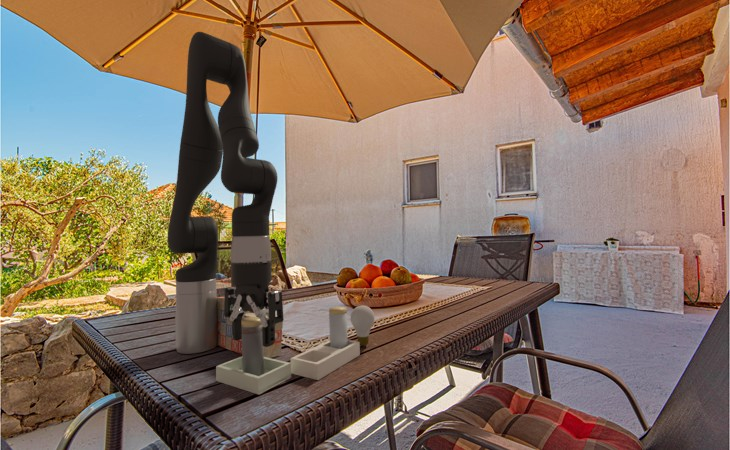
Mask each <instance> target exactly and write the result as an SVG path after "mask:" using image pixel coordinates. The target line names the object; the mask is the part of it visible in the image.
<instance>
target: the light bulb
mask: <svg viewBox="0 0 730 450" xmlns="http://www.w3.org/2000/svg"><path fill="white" fill-rule="evenodd" d="M350 322H351V325H352V326H353V328H354V330H355V333H356V336H357V342H360V347H362V348H365V347H366V346H367V345H368V344H369V340H370V338H369V335H370V333H371V329H372V327H373V324H374V322H375V312H374V311H373V310H372V308H370V307H369V306H367V305H358V306H356V307H355V308H354V309H353V310H352V311H351V314H350Z"/></svg>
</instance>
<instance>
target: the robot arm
mask: <svg viewBox="0 0 730 450" xmlns="http://www.w3.org/2000/svg"><path fill="white" fill-rule="evenodd" d="M186 66H187V67H186V68H187V70H186V92H185V93H186V95H185V108H184V115H183V117H184V118H183V122H182V123H183V125H182V130H181V137H180V143H179V145H180V146H179V153H178V162H177V163H178V165H177V173H176V174H177V175H176V176H177V177H176V184H175V185H176V186H175V190H174V191H175V192H174V198H173V201H172V203H173V204H172V207H171V214H170V218H169V221H168V222H169V223H168V228H167V229H168V230H167V245H168V249H169V250H170V252H171V253H174V254H179V255H181V254H182V255H183V254H198V255H197V258H196V259H194V260H193V261H192V262H191V263H188V264H187V265H185V266H182V267H180V268H178V269H177V270H176V271H175V309H176V310H175V311H174V320H175V321H174V326H175V327H174V328H175V329H174V330H175V331H174V333H175V334H174V335H175V344H174V345H175V349H176V352H177V353H178V354H184V355H185V354H186V355H187V354H188V355H189V354H199V353H203V352H206V351H210V350H213V349H215V348H216V347H218V345H217V297H218V296H217V293H218V292H217V270H218V253H219V252H218V251H219V250H218V249H219V228H218V224H217V222H216V220H215V219H214V218H213V217H210V216H191V214H192V211H193V207H194V206H195V203H196V201H197V200H198V198H199V197H200V195H201V194H202V193H203V192H204V190H205V189H206V188H207V187H208V186H209V185H210V184H211V183H212V181H213V180H215V178H216V177H217V175H218V174H219V172H220V180H221V181H220V182H221V184H222V185H223V187H224V188H225V189H226V190H227V191H228V192H230V193H234V194H242V195H244V194H245V195H254V197H253V200H252V201H251V203H250V204H246V205H241V206H236V207H234V209H233V210H232V212H231V245H230V268H231V269H230V273H231V274H230V275H231V276H230V277H231V278H230V281H231V284H232V285H233V286H231V287H225V289H224V296H225V300H224V316H225V317H229V318H230V320H231V321H232V335H233V340H240V339H242V329H241V320H242V319H243V318H244V316H245V314H246V312H247V311H249V312H251V313H255V315H256V317H258V318H260V320H261V322H262V324H263V326H264V327H262V339H263V346H264V347H269V346H271V345H273V344H274V342H275V325H276V324H277V323H280V322H283V323H284V318H285V317H284V305H283V304H284V303H283V292H282V290H280V289H279V290H272V291H270V287H269V285H270V283H271V282H272V280H273V278H272V275H273V274H272V273H273V272H272V245H271V239H270V238H271V237H270V215H271V214H270V213H271V209H272V204H273V200H274V195H275V193H276V189H277V185H278V173H277V172H278V171H277V170H276V168H275V167H276V166H274V164H273V163H271V162H270V161H269V160H265V159H257V158H251V157H252V156H254V155H255V154H257V152H258V151H259V149H260V143H259V142H260V141H259V139H258V135H257V131H256V128H255V127H256V126H255V125H254V121H253V116H252V113H251V108H250V98H249V84H248V76H247V67H246V66H247V64H246V60H245V56H244V53H243V51H242V50H241V48H239V47H238V46H237V45H235V44H234V43H231V42H229V41H226V40H223V39H221V38H219V37H218V36H214V35H211V34H210V33H209V34H208V33H206V32H203V31H196V32H195V33H194V34H193V35H192V37H191V39H190V43H189V46H188V52H187V65H186ZM207 81H210V82H213V83H218V84H220V85H225V86H227V87H228V90H229V94H228V96H227V98H226V99H225V101H224V102H223V103H222V105H221V106H220V108H219V111H218V114H217V121H216V119H215V117H214V115H213V112H212V110H211V107H210V104H209V99H208V93H207ZM232 304H233V307H232V310H230V305H232ZM275 314H277V317H276V316H275ZM265 315H267V316H268V318H269V319H268V320H267V318H266V316H265Z"/></svg>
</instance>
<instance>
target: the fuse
mask: <svg viewBox="0 0 730 450" xmlns="http://www.w3.org/2000/svg"><path fill="white" fill-rule="evenodd" d="M347 312H348V308H347V307H346V306H332V307H329V308H328V313H329V314H328V315H329V317H328V318H329V319H328V320H329V321H328V323H329V324H328V325H329V340H330V347H333V348H338V349H343V348H345V347H347V346H348V340H349V339H348V313H347Z"/></svg>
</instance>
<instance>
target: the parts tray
mask: <svg viewBox="0 0 730 450" xmlns="http://www.w3.org/2000/svg"><path fill="white" fill-rule="evenodd" d="M215 369H216V370H215V375H216V376H215V379H216V382H219V383H221V384H225V385H227V386H231V387H234V388H238V389H240V390H244V391H247V392H249V393H253V394H256V395H261V394H264V393H265V392H267V391H268V390H270V389H272V388H274V387H276V386H278V385H279V384H282V383H283V382H286V381H287V380H289V379H291V378H292V373H291V362H288V361H284V360H279V359H274V358H267V357H264V374H263V375H261V376H256V375H253V374H249V373H246V372H242V355H241V356H239V357H237V358H234V359H232V360H229V361H226V362H224V363H221V364H218V365H216V367H215Z"/></svg>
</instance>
